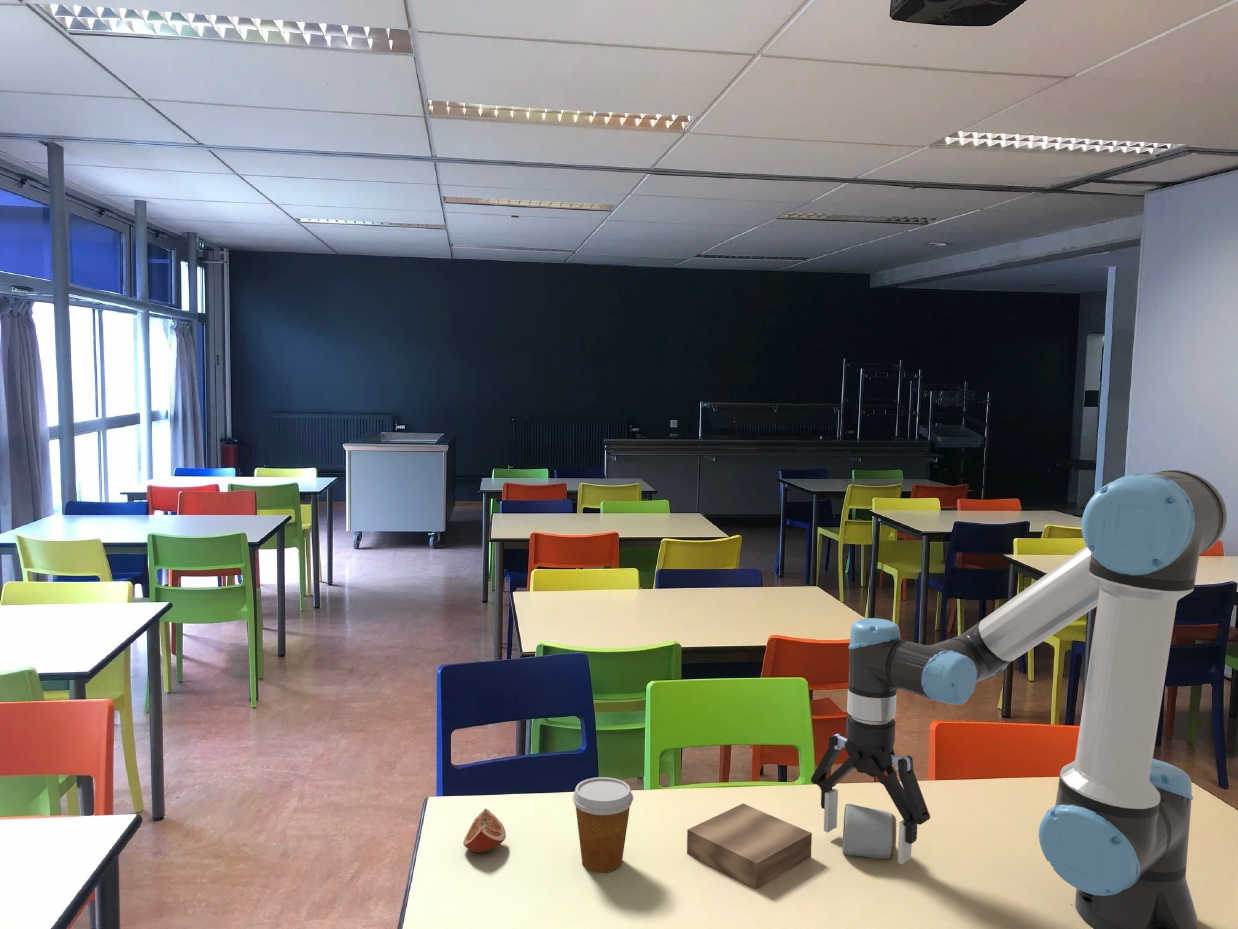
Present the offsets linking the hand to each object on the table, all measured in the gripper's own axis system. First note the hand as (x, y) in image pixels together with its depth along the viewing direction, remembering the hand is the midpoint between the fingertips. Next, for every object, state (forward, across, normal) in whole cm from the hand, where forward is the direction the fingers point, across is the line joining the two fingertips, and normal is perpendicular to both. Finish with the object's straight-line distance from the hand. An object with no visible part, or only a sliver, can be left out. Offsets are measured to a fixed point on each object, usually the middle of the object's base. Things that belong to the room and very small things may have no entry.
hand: (866, 844), depth 149 cm
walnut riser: (+1, +12, +15) cm, 19 cm away
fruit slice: (+2, +42, +45) cm, 62 cm away
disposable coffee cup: (+2, +26, +34) cm, 43 cm away
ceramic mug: (+2, 0, -1) cm, 2 cm away
